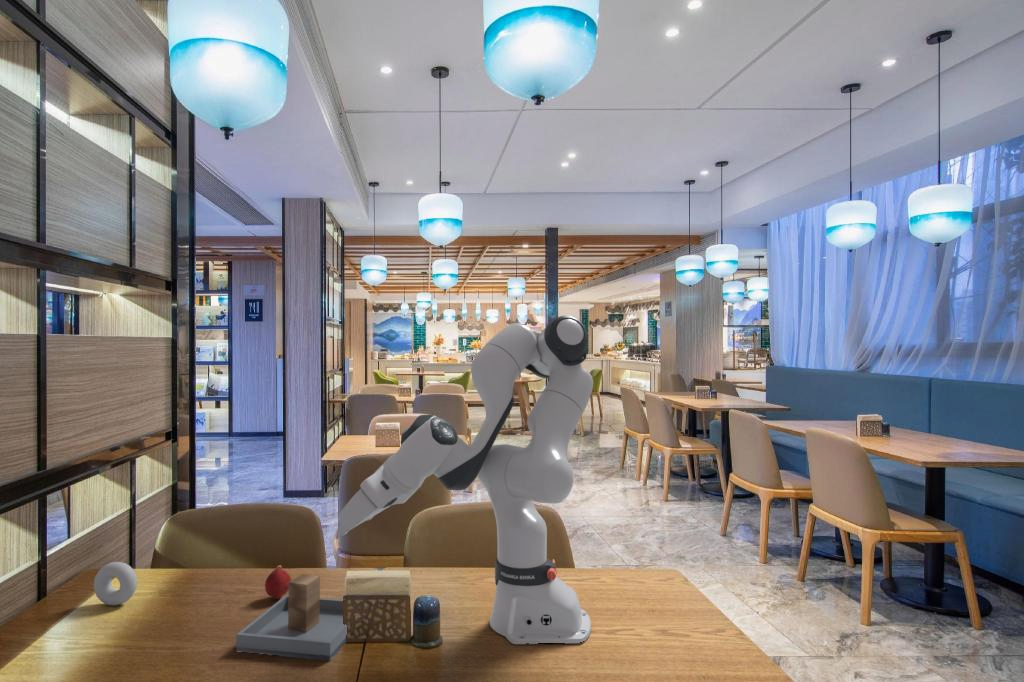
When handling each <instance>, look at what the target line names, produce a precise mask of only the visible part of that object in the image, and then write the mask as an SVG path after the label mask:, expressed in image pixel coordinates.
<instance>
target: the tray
mask: <svg viewBox="0 0 1024 682" xmlns="http://www.w3.org/2000/svg"><path fill="white" fill-rule="evenodd" d="M343 600H344V598H343V599H340V598H328V597H320V607H319V623H318V624H317V625H315V626H314V627H313V628H311V629H310V630H309V631H308V632H300V631H295V630H289V629H288V605H289V594H284V595H283V596H282V597H281V598H280V599H278V601H277V602H275V603H274V604H273V605H272V606H271V607H269V608H267V610H265V611H264V612H263V613H261V614H260V615H259V616H258V617H256V618H255V619H254V620H253V621H252V622H250V623H249V624H247V626H245V627H244V628H243V629H241V630H240V631H238V632H237V633H236V634H235V635H236V638H235V641H236V642H235V643H236V645H235V646H236V647H235V648H236V650H235V652H236V651H243V652H252V653H263V654H270V655H269V656H272V655H279V656H278V657H283V656H284V658H296V659H305V660H315V661H317V660H318V661H326V662H331V661H332V659H333V658H334V657H335V656H336V655H337V653H339V651H340V650H341V649H342V648H343V646H344V645H345V644H346V643H347V642H346V635H347V625H346V624H345V625H344V624H343Z"/></svg>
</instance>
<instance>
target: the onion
mask: <svg viewBox="0 0 1024 682" xmlns="http://www.w3.org/2000/svg"><path fill="white" fill-rule="evenodd" d="M291 578H292V577H291V575H290V574H289V573H288V572H287V571H286V570H285V569H283V566H282V565H281V564H280V565H277V567H276V568H275V569H273V571H271V573H269V575H268V576H267V577H266V579H265V583H264V587H265V592H266V594H267V595H268V596H269V597H271V598H273V599H276V600H280V599H282V598H283V597H284V596H285V595H286V594H287V593H288V592H289V582H290V581H292V579H291Z"/></svg>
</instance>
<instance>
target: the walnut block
mask: <svg viewBox="0 0 1024 682" xmlns="http://www.w3.org/2000/svg"><path fill="white" fill-rule="evenodd" d="M320 586H321V576H319V575H311V574H306V573H303V574H300V575H298V576H297V577H295V578H294V579H291V581H290V582H289V590H288V595H289V605H288V629H289V630H295V631H300V632H308V631H309V630H310V629H311V628H313V627H314V626H315V625H317V624H318V623H319V607H320V598H321V596H320V595H321V592H320V591H321V587H320Z"/></svg>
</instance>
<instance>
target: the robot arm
mask: <svg viewBox="0 0 1024 682" xmlns="http://www.w3.org/2000/svg"><path fill="white" fill-rule="evenodd" d="M587 344H588V333H587V329H586V327H585V325H584V323H583V322H582V321H580V319H578V318H577V317H575V316H571V315H561V316H557V317H555V318H553V319H552V320H551V321H550V322H549V323H548V324H546V326H545V327H544V328H543V330H541V332H538V331H537V332H536V331H533V330H532V329H531V328H530V327H528V326H527V325H525V324H522V323H521V322H520V323H519V322H513V323H510V324H508V325H506V327H504V328H503V329H501V330H500V331H499V332H498V333H496V334H495V335H494V336H492V338H490V339H489V341H487V342H486V344H485V345H484V346H482V348H481V349H480V350H479V351H478V353H477V354H476V355H475V357H474V359H473V360H472V362H471V367H470V373H471V380H472V383H473V385H474V387H475V390H476V392H477V393H478V395H479V397H480V399H481V401H482V404H483V407H484V410H485V419H484V421H483V423H482V425H481V427H480V428H479V430H478V432H477V434H476V435H475V438H474V439H473V441H472V442H471V444H468V443H466V442H465V441H464V440H463V439H462V437H460V436H459V435H458V433H457V431H456V429H455V428H454V426H453V425H452V424H451V423H450V422H449V421H447V420H446V419H444V418H442V417H438V416H436V415H435V414H421V415H418V416H417V417H416V419H414V421H413V422H412V424H411V425H410V426H409V427H408V428H407V429H406V430H405V431H403V432H402V433H401V436H400V447H399V449H398V450H396V452H395V453H394V454H392V455H390V456H389V457H388V458H387V459H386V460H385V461H384V462H383V464H381V465H380V466H379V467H378V468H377V469H376V470H375V472H373V473H372V474H371V475H370V476H368V477H366V478H365V479H364V480H363V481H362V482H361V483H360V485H359V487H360V489H359V490H358V491H357V492H356V493H355V494H354V495H353V496H352V497H351V498H350V499H349V501H347V503H346V504H345V506H344V507H343V508H342V510H341V511H340V512H339V513H338V516H337V517H338V518H337V519H338V521H339V523H340V526H339V527H337V529H336V530H337V531H336V532H337V533H338V534H339V535H340V536H342V537H344V535H347V534H348V533H349V532H350V531H351V530H353V529H354V528H356V527H358V526H359V525H361V524H363V523H365V522H368V521H370V520H372V519H373V518H374V517H375V516H376V515H378V514H379V513H381V512H383V511H384V510H386V509H388V508H390V507H391V506H395V505H401V504H402V505H403V504H404V503H406V502H407V501H408V500H409V499H410V498H411V497H412V496H413V495H414V494H415V493H416V492H417V491H418V489H419V488H421V486H422V485H423V483H424V481H425V480H426V479H427V478H428V477H431V476H432V475H434V476H435V477H436V478H437V480H438V481H439V482H440V483H441V484H442V485H443V486H444V487H445V489H446V490H448V491H465V490H467V488H469V487H470V486H471V485H472V484H473V483H474V482H475V481H476V479H477V478H478V480H479V482H480V483H481V484H482V485H483V488H485V490H486V492H487V494H488V496H489V500H490V503H491V506H492V509H493V513H494V516H495V523H496V534H497V535H496V536H497V537H496V539H497V546H496V547H497V556H496V559H495V562H494V581H495V594H494V600H493V606H492V611H491V614H490V617H489V625H490V628H491V630H493V631H494V632H496V633H498V634H499V635H501V636H503V637H505V638H506V639H507V640H508V641H509V642H510V643H511V644H513V645H527V644H526V643H529V644H528V645H539V644H538V643H565V644H581V643H580V642H582V643H584V642H586V640H588V639H589V637H590V635H591V630H592V624H591V623H592V621H591V618H590V615H589V613H588V612H587V611H586V610H585V609H583V608H581V604H580V601H579V597H578V594H577V593H576V591H575V590H574V588H572V587H571V586H569V585H568V584H566V583H565V582H564V581H563V580H561V579H560V578H559V577H558V576H557V572H558V571H557V570H556V569H557V568H556V567H557V566H556V561H555V559H554V558H553V559H552V560H551V559H550V558H548V555H547V551H548V549H547V548H548V547H547V546H548V543H547V540H548V536H547V535H548V530H547V524H546V521H545V519H544V518H543V517H542V516H541V515H540V513H539V512H538V511H537V509H536V507H535V504H534V503H538V504H559V503H562V502H563V501H565V500H566V499H567V498H568V496H569V495H570V493H571V492H572V489H573V486H574V479H575V478H574V472H573V468H572V465H571V464H570V462H569V460H568V446H569V443H570V440H571V437H572V436H573V434H574V432H575V429H576V428H577V425H578V423H579V422H580V419H581V418H582V416H583V414H584V412H585V410H586V408H587V405H588V403H589V401H590V398H591V395H592V391H593V388H594V379H593V376H592V375H591V374H592V373H590V372H589V371H588V369H586V368H584V367H583V365H582V363H583V362H584V361H585V360H586V359H587ZM525 369H526V370H528V371H530V372H531V373H533V374H534V375H535V376H537V377H538V378H541V379H548V382H547V383H546V385H545V388H543V390H542V392H541V394H540V395H539V396H538V399H537V400H536V402H535V404H534V406H533V407H532V409H531V410H530V412H529V414H528V416H527V418H526V423H527V424H526V425H527V427H528V431H529V432H530V434H531V438H530V442H529V443H528V445H526V446H525V447H522V446H517V445H513V444H505V443H501V444H494V443H495V442H496V440H497V438H498V436H499V434H500V432H501V431H502V429H503V428H504V424H505V423H506V422H507V420H508V417H509V415H510V413H511V412H512V410H513V407H514V403H515V397H514V394H513V392H514V385H515V382H516V380H517V378H518V377H519V376H520V375H521V373H522V372H523V371H524V370H525ZM583 641H584V642H583Z"/></svg>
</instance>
